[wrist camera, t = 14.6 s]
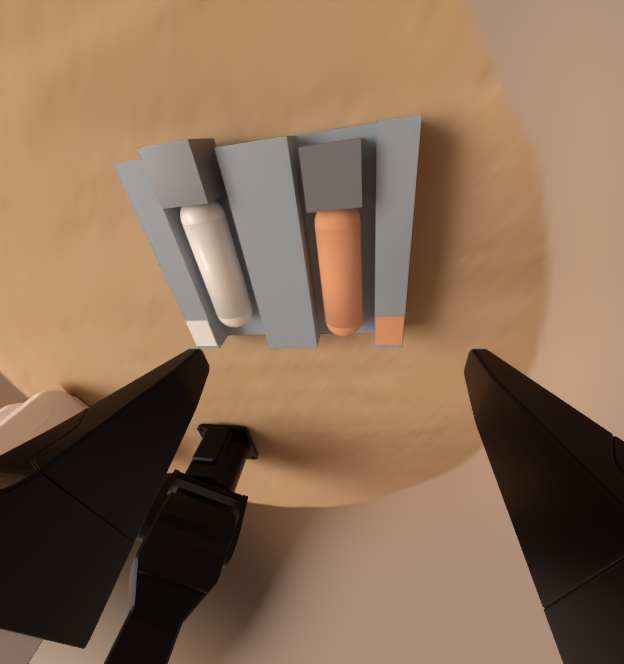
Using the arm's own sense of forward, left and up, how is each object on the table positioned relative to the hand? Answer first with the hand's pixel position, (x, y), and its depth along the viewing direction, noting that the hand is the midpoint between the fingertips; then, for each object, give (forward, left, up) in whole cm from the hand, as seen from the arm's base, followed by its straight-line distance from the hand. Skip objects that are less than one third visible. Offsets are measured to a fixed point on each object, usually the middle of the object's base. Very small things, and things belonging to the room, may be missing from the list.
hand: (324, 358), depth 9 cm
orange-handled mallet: (0, 0, -11) cm, 11 cm away
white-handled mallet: (+1, +8, -11) cm, 13 cm away
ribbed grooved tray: (0, +4, -12) cm, 12 cm away
